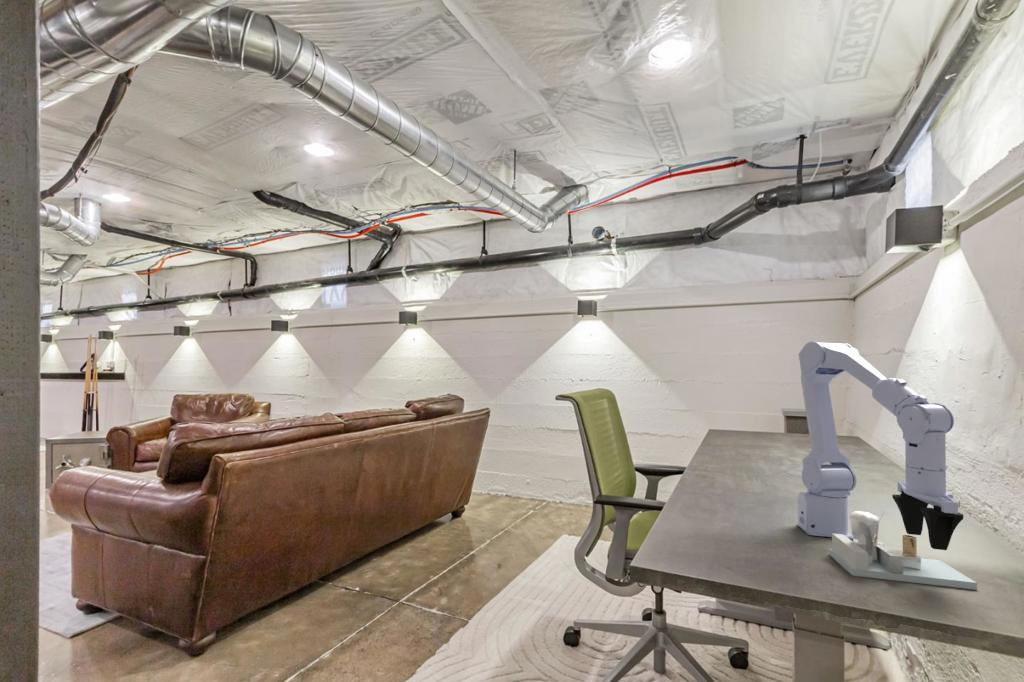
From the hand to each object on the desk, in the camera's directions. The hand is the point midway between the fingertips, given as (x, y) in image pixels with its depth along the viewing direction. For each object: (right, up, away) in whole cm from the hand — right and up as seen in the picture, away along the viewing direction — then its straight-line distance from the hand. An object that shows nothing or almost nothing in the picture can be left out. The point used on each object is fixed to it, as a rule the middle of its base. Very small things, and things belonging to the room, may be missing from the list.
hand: (925, 541), depth 89 cm
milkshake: (-10, -5, +2) cm, 11 cm away
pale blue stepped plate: (-5, -6, +1) cm, 8 cm away
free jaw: (-5, -5, +1) cm, 7 cm away
